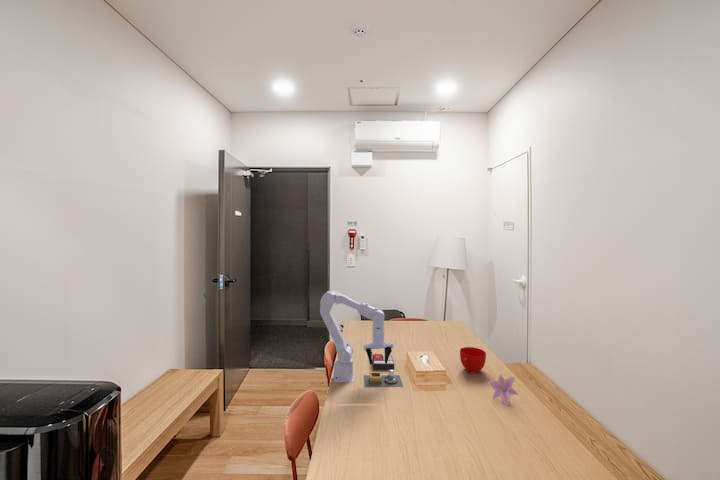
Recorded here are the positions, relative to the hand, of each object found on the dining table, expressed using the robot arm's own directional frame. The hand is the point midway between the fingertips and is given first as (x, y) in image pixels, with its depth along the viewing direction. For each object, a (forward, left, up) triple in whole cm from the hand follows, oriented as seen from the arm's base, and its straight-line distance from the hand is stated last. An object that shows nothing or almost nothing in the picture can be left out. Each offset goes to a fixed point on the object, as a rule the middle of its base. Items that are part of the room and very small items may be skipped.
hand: (378, 363), depth 154 cm
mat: (+2, -1, -9) cm, 9 cm away
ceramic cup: (+49, +10, -9) cm, 51 cm away
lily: (+53, -17, -9) cm, 57 cm away
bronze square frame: (-1, -1, -8) cm, 8 cm away
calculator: (+4, +19, -9) cm, 22 cm away
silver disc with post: (+6, -1, -8) cm, 10 cm away
